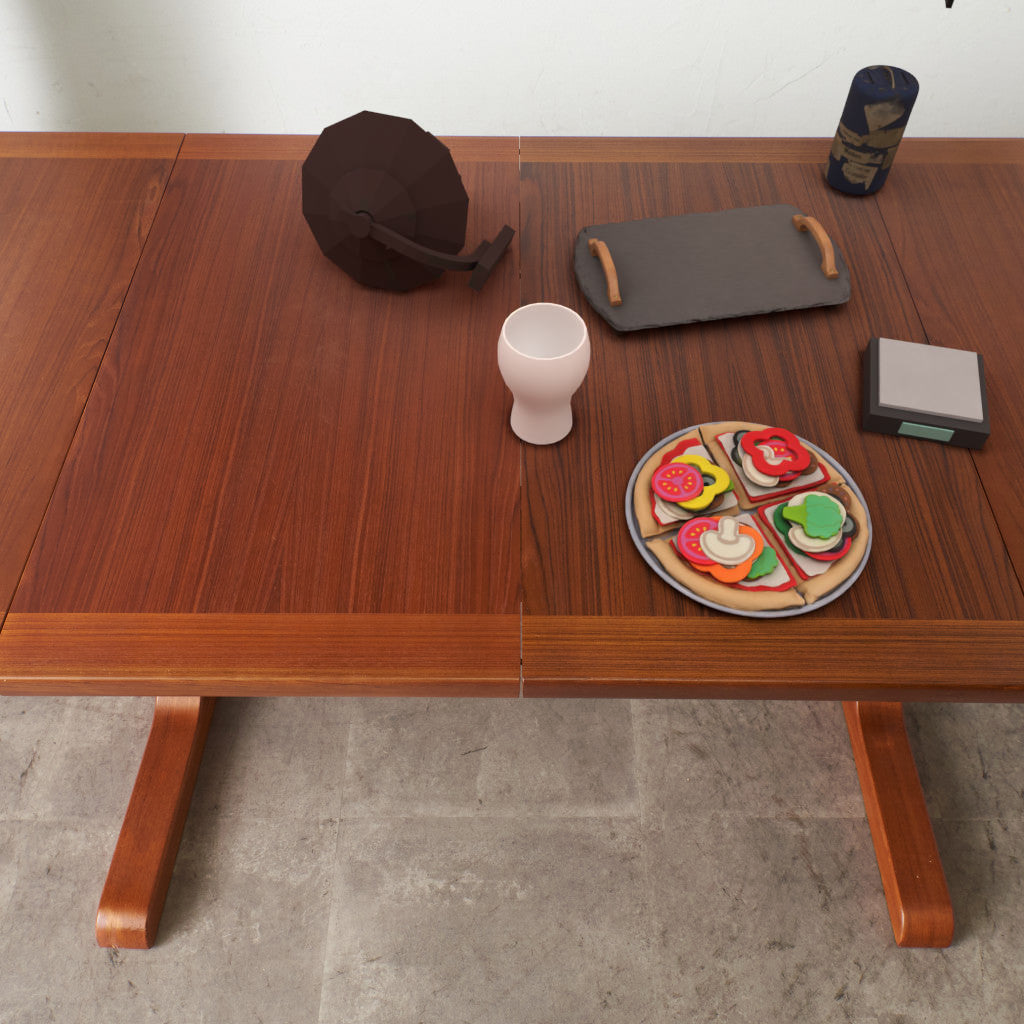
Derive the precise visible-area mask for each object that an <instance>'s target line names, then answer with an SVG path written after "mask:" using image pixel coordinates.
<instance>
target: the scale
mask: <svg viewBox="0 0 1024 1024" xmlns="http://www.w3.org/2000/svg"><path fill="white" fill-rule="evenodd" d="M862 361H863V364H862V365H863V367H862V372H863V373H862V431H866V432H872V433H877V434H885V435H891V436H895V437H900V438H901V437H902V438H907V439H912V440H913V439H914V440H918V441H919V440H920V441H924V442H931V443H937V444H943V445H949V446H954V447H960V448H967V449H973V450H978V451H981V450H982V448H983V447H984V445H985V443H986V442H987V440H988V439H989V437H990V436H991V421H990V414H989V404H988V403H989V402H988V393H987V383H986V373H985V363H984V355H983V354H982V353H977V352H975V351H970V350H962V349H956V348H949V347H943V346H936V345H930V344H925V343H919V342H918V343H917V342H912V341H911V342H910V341H905V340H899V339H891V338H886V337H885V338H884V337H879V338H878V337H870V338H869V340H868V342H867V345H866V346H865V350H864V352H863V360H862Z"/></svg>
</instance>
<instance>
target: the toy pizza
mask: <svg viewBox="0 0 1024 1024" xmlns="http://www.w3.org/2000/svg"><path fill="white" fill-rule="evenodd" d="M624 502H625V503H624V508H625V520H626V523H627V527H628V531H629V530H630V531H629V533H630V536H631V539H632V540H633V543H634V545H635V547H636V548H637V550H638V552H639V554H640V555H641V556H642V558H643V559H644V561H645V562H646V563H647V564H648V565H649V567H651V569H652V570H653V571H654V572H655V573H656V574H657V575H658V576H659V577H660V578H661V579H662V580H664V581H665V582H666V583H667V584H669V585H670V586H671V587H672V588H674V589H675V590H677V591H678V592H680V593H681V594H683V595H684V596H686V597H688V598H690V599H692V600H693V601H695V602H698V603H700V604H702V605H703V606H707V607H709V608H712V609H714V610H718V611H721V612H725V613H728V614H731V615H737V616H743V617H751V618H764V619H765V618H771V619H773V618H785V617H793V616H798V615H801V614H805V613H808V612H812V611H814V610H817V609H819V608H821V607H824V606H825V605H828V604H829V603H832V602H833V601H835V600H836V599H838V598H839V597H841V596H842V595H843V594H844V593H845V592H846V591H848V590H849V588H850V587H852V585H853V584H854V583H855V582H856V581H857V579H858V578H859V576H861V574H862V571H863V570H864V569H865V566H866V564H867V562H868V559H869V557H870V554H871V553H870V552H871V549H872V542H873V540H872V539H873V524H872V520H871V519H872V518H871V514H870V511H869V508H868V504H867V502H866V500H865V497H864V496H863V493H862V491H861V490H860V488H859V487H858V485H857V483H856V482H855V481H854V479H853V478H852V477H851V475H850V474H849V472H847V470H846V469H845V468H844V467H843V466H842V465H841V463H839V462H838V461H837V460H836V459H835V458H833V457H832V456H831V455H830V454H829V453H827V452H826V451H824V449H821V448H820V447H818V446H817V445H815V444H814V443H812V442H810V441H808V440H807V439H805V438H803V437H802V436H799V435H797V434H794V433H793V432H791V431H789V430H788V429H784V428H781V427H774V426H769V425H765V424H761V423H757V422H747V421H731V420H730V421H729V420H728V421H713V422H705V423H701V424H697V425H692V426H689V427H686V428H682V429H680V430H678V431H676V432H674V433H672V434H670V435H668V436H665V438H663V439H661V440H660V441H658V442H657V443H656V444H655V445H654V446H652V447H651V448H650V449H649V450H648V451H647V452H645V454H644V455H643V456H642V457H641V459H640V460H639V461H638V463H637V464H636V466H635V467H634V469H633V471H632V473H631V475H630V477H629V480H628V483H627V488H626V491H625V501H624Z"/></svg>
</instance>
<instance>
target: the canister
mask: <svg viewBox="0 0 1024 1024" xmlns="http://www.w3.org/2000/svg"><path fill="white" fill-rule="evenodd" d="M919 92H920V83H919V81H918V78H916V77H915V75H914V74H913V73H911V72H909V71H907V70H905V69H903V68H901V67H897V66H893V65H887V64H875V65H869V66H865V67H863V68H861V69H860V70H858V71H857V72H856V73H855V75H854V76H853V78H852V80H851V83H850V87H849V90H848V94H847V96H846V100H845V103H844V107H843V109H842V112H841V116H840V118H839V122H838V125H837V128H836V131H835V134H834V136H833V140H832V143H831V147H830V151H829V154H828V157H827V161H826V165H825V168H824V178H825V180H826V182H828V184H829V185H830V187H832V188H834V189H835V190H837V191H839V192H841V193H844V194H848V195H852V196H867V195H871V194H874V193H876V192H878V191H880V189H882V188H883V187H884V185H885V184H886V180H887V178H888V176H889V174H890V170H891V169H892V165H893V162H894V159H895V157H896V155H897V152H898V149H899V146H900V144H901V141H902V139H903V136H904V134H905V131H906V128H907V126H908V123H909V120H910V117H911V115H912V112H913V110H914V107H915V104H916V102H917V98H918V96H919Z"/></svg>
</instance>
